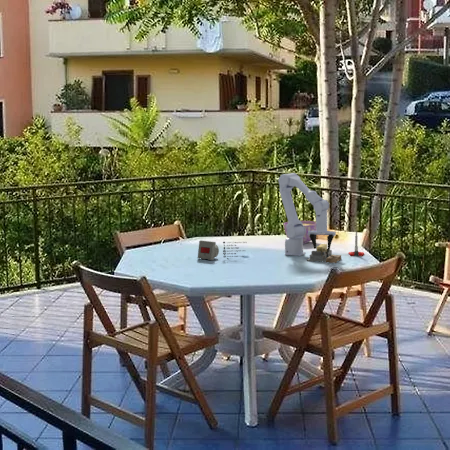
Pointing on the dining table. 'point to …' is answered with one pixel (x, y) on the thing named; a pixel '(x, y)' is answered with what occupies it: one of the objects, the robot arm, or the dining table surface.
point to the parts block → (333, 258)
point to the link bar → (322, 247)
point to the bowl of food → (308, 226)
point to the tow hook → (356, 249)
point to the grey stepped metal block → (320, 255)
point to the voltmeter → (212, 250)
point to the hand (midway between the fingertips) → (321, 248)
